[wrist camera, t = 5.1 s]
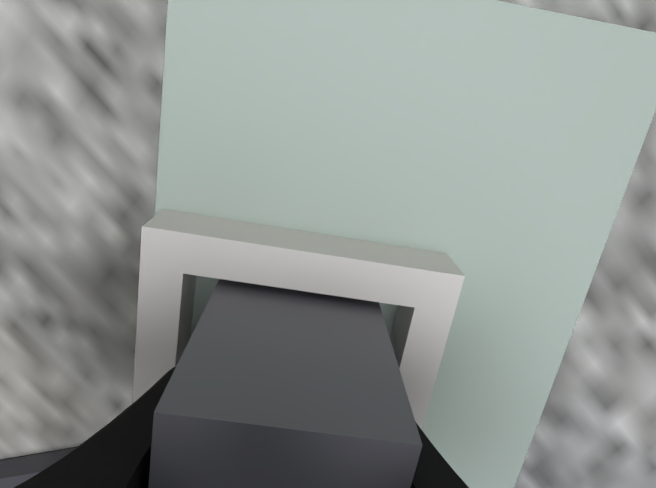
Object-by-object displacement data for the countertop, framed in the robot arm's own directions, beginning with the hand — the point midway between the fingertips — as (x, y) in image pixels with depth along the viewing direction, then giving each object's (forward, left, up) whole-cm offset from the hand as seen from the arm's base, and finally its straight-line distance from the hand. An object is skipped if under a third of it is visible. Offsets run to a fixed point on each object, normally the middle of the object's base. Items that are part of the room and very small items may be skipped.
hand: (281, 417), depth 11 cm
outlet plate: (+2, -2, -4) cm, 5 cm away
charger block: (+1, 0, -2) cm, 2 cm away
